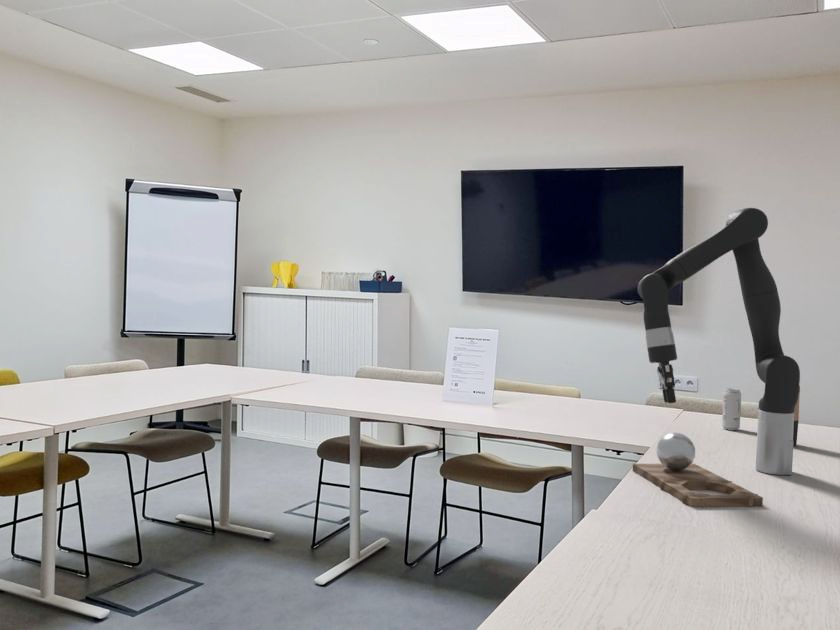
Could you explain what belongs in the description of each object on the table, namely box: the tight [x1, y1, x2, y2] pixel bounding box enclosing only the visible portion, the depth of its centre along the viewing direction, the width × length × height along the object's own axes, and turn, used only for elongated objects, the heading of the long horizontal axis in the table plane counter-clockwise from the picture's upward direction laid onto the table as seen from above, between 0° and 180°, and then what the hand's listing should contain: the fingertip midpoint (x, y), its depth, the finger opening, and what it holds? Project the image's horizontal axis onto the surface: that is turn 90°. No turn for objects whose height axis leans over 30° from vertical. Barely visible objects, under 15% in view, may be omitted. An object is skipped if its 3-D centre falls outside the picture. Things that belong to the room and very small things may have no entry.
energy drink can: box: [721, 387, 742, 431], centre depth 281 cm, size 6×6×15 cm
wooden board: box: [632, 463, 764, 508], centre depth 197 cm, size 34×19×2 cm, turn 7°
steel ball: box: [656, 432, 696, 470], centre depth 207 cm, size 10×10×10 cm
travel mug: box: [793, 385, 801, 447], centre depth 256 cm, size 8×8×20 cm
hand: (670, 402), depth 213 cm, fingers open, 8 cm apart
